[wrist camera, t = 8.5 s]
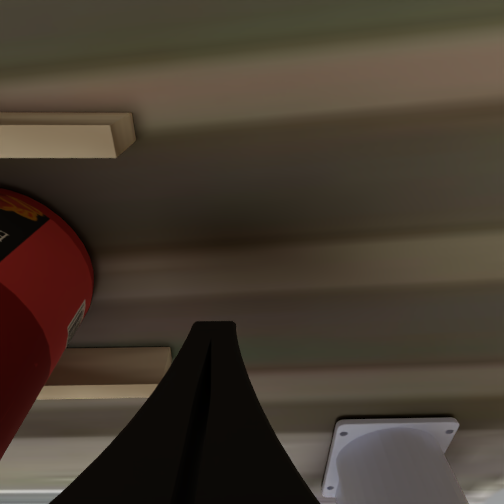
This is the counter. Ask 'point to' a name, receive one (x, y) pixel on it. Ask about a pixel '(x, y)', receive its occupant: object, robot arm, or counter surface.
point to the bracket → (85, 146)
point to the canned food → (36, 301)
